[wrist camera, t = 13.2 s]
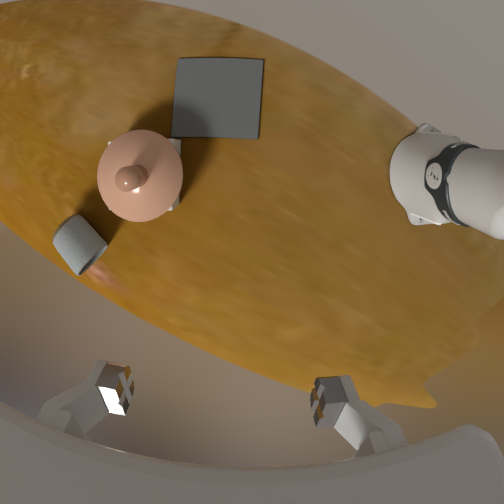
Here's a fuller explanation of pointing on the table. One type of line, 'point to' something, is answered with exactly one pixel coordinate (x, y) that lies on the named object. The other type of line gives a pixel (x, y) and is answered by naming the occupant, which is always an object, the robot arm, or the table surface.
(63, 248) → the ceramic mug
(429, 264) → the table surface
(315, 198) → the table surface
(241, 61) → the mat
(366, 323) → the table surface
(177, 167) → the lid
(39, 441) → the robot arm
